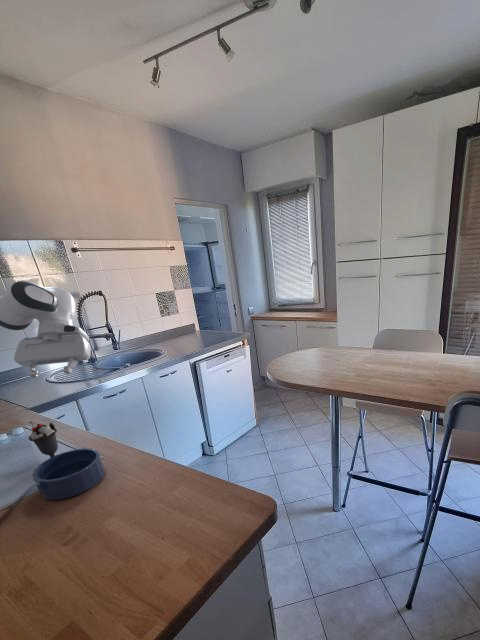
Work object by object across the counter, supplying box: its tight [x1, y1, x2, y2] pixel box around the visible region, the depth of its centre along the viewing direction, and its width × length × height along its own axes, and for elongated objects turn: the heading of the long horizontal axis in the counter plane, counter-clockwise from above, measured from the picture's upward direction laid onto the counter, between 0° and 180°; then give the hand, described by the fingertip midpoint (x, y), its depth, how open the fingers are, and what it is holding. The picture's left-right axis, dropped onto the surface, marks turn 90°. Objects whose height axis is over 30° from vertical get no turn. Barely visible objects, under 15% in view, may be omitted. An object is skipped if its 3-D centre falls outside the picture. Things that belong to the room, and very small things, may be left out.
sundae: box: [28, 420, 59, 458], centre depth 94 cm, size 7×7×15 cm
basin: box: [31, 447, 106, 501], centre depth 87 cm, size 15×15×6 cm
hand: (50, 374), depth 99 cm, fingers open, 8 cm apart
